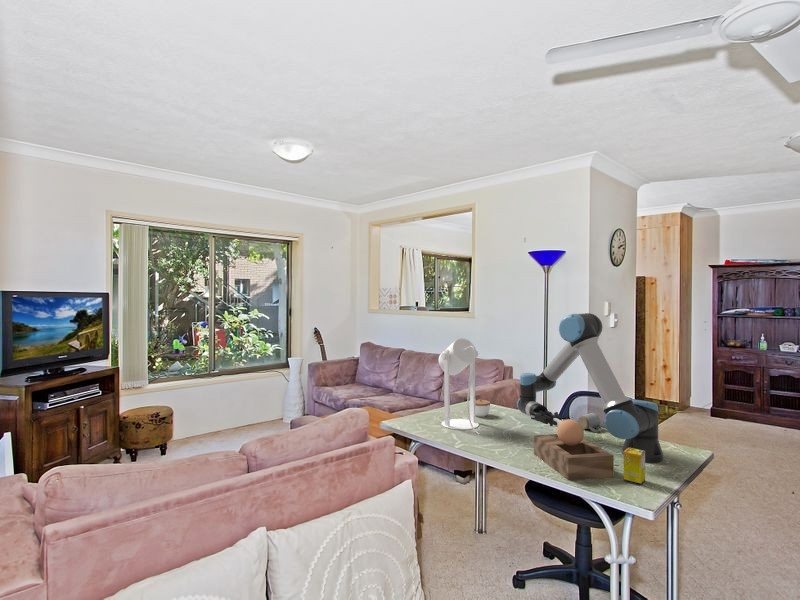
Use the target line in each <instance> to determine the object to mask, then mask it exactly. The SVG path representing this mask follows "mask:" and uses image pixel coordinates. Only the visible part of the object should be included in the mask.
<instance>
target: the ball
mask: <svg viewBox="0 0 800 600" xmlns="http://www.w3.org/2000/svg"><path fill="white" fill-rule="evenodd" d="M584 431H585V430H584V429H583V428H582V426H581V425H580V424H579V423H578V421H577V420H575V419H573V418H572V419H571V418H570V419H567V418H566V419H563V420H562V422H561V423H560V424H559V425H558V427H557V428H556V434H557V435H558V437H559V439H560V440H561V441H562V442H563V443H564V444H566V445H571V446H573V445H577V444H579V443H580V442H581V441H582V439H584V436H585V432H584Z"/></svg>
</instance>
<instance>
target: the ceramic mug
mask: <svg viewBox="0 0 800 600" xmlns="http://www.w3.org/2000/svg"><path fill="white" fill-rule="evenodd" d="M577 422H578V423H579V424H580V425H581V426H582V428H583V430H584V429H590V431H591V432H593V431H594V433H596V432H599V431H602V426H601V419H600V417H599V415H598V414H597V413H594V412H590V413H587V414H583V415H579V417H578V421H577ZM595 428H597V429H595ZM599 433H600V432H599Z"/></svg>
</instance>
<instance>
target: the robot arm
mask: <svg viewBox="0 0 800 600" xmlns="http://www.w3.org/2000/svg"><path fill="white" fill-rule="evenodd" d="M602 331H603V323H602V320H601V319H600V318H599V317H598V316H597V315H596V314H593V313H588V312H587V313H586V312H585V313H571V314H568V315H565V316H564V317H563V318H562V319H561V320H560V323H559V326H558V332H559V335H560V337H561V339H562V340H564V341H566V342H567V343H566V344H565V345H564V346H563V347H562V348H561V349H560V351H559V352H558V353H557V354H556V355H555V356H554V358H553V359H552V360H551V361H550V363H549V364H548V365H547V366H546V367H544V370H542V372H541V373H540V374H539V375H537V374H536V373H533V372H532V373H531V372H523V373H521V374H520V375H519V397H518V399H517V401H516V407H517V409H518V410H519V411H520V412H521V413H522V414H524V415H526V416H528V417H530V420H534V421H536V422H540V423H543V424H546V425H548V424H549V426H550V427H553V426H555V427H557V428H558V425H559V424H560V423H561V422H562V421H563V419H562V418H563V416H561V415H560V414H559V412H558V411H555V412H552V411H549V410H548V408H547V406H545V405H543V404H541V403H539V402H538V401H537V393H539V392H543V391H544V392H545V391H549V390H551V389H554V388H555V387H556V384H557V380H558V379H559V378H560V377H561V376H562V375H563V374H564V373H565V371H566V370H567V369H568V368H570V366H571V365H572V363H574V361H575V360H576V359H577V358H579V356H580V358H581V360H582V363H583V364H584V366H585V368H586V370H587V373H588V374H589V376H590V378H591V380H592V382H593V384H594V386H595V388H596V390H597V391H598V394H599V396H600V397H601V398H600V399H601V400H602V402H603V404H604V405H603V408H602V411H603V412H604V415H605V416H604V426H605V428H606V430H607V432H608V433H609V434H610V435H611V436H613V437H615V438H617V439H620V440H624V442H623V445H622V447H621V453H622V455H623V452H624V451H625V450H626V449H627V448H633V449H638V450H643V451H645V463H659V462H662V461H663V460H664V452H663V450H662V447H661V444H660V440H659V414H660V411H659V405H658V404H657V403H656V402H653V401H647V400H642V399H641V400H640V399H632V398H630V397H628V396H626V395H625V393H624V391H623V389H622V387H621V385H620V384H619V382H618V380H617V378H616V376H615V374H614V372H613V370H612V369H611V366H610V364H609V362H608V361H607V358H606V357H605V354H604V353H603V351H602V350H601V349H602V348H601V347H600V346H599V344H598V341H599V339H600V338H599V337H600V336H601V334H602Z"/></svg>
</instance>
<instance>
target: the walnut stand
mask: <svg viewBox="0 0 800 600" xmlns="http://www.w3.org/2000/svg"><path fill="white" fill-rule="evenodd" d="M533 439H534V440H533V447H534V448H533V453H534V456H536V457H537V456H538V457H537V458H539V459H540V460H541V459H542V460H543V461H542V460H541V461H542V462H544V463H545V464H546V463H547V464H546V465H548V466H549V467H551V469H553V470H554V471H556V472H557V473H558V474H559V473H560V474H559V475H561V476H562V477H563V478H564V479H566V480H567V481H574V480H575V481H576V480H588V479H603V478H614V476H615V475H614V471H615V470H614V469H615V468H614V461H615V460H614V457H615V456H614V455H613V454H611V453H610V452H608V451H606V450H604V449H603V448H601V447H600V446H597V445H596V444H595V443H592V442H591V441H589V440H587V439H585V438H583V439H582V441H581V442H580V443H579V444H577V445H573V446H571V445H566V444H564V443H563V442H562V441H561V440H560V439H559V437H558V435H557V433H553V434H535V435H534V436H533Z"/></svg>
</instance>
